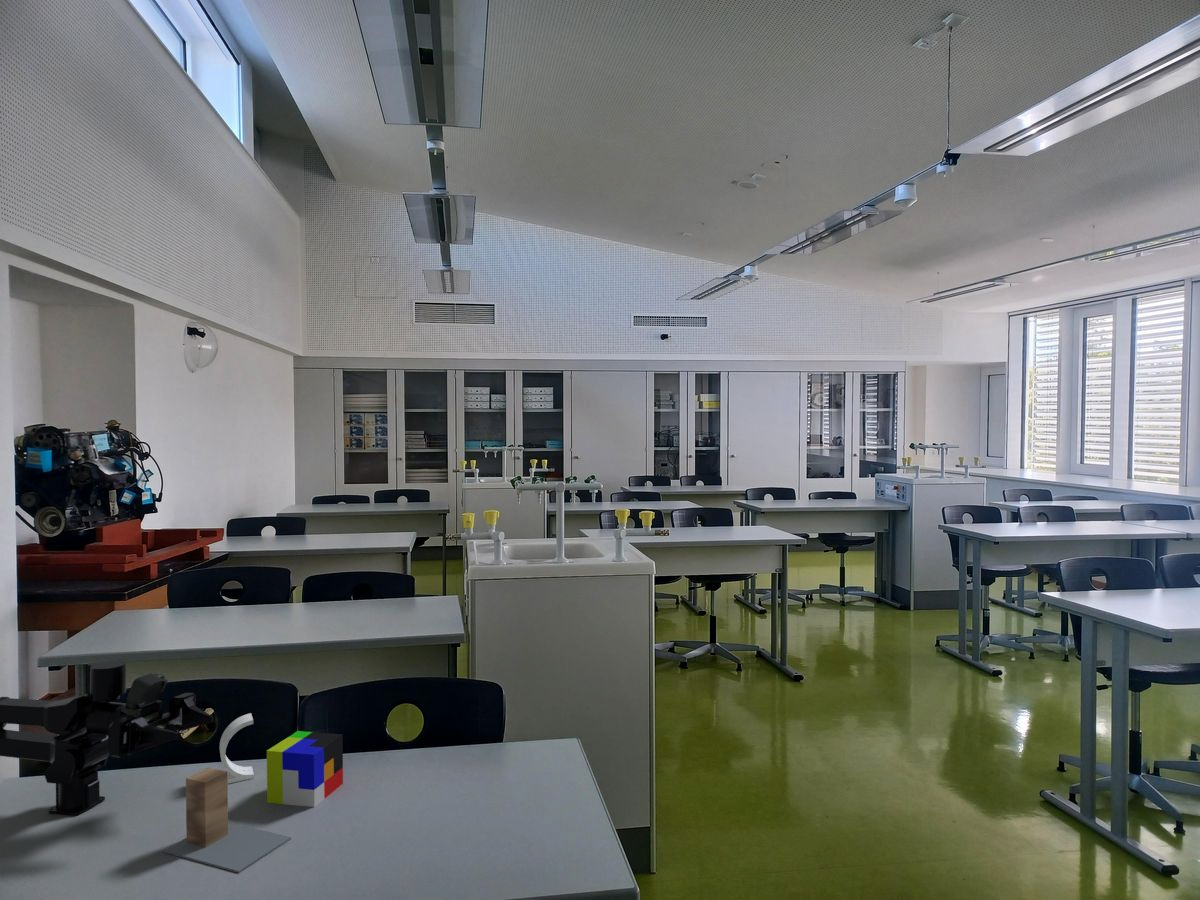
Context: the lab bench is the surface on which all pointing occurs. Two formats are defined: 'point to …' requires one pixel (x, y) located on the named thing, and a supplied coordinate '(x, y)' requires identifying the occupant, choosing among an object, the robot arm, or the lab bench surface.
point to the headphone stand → (233, 771)
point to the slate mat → (231, 848)
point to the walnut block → (206, 807)
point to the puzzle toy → (304, 768)
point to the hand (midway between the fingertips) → (195, 727)
